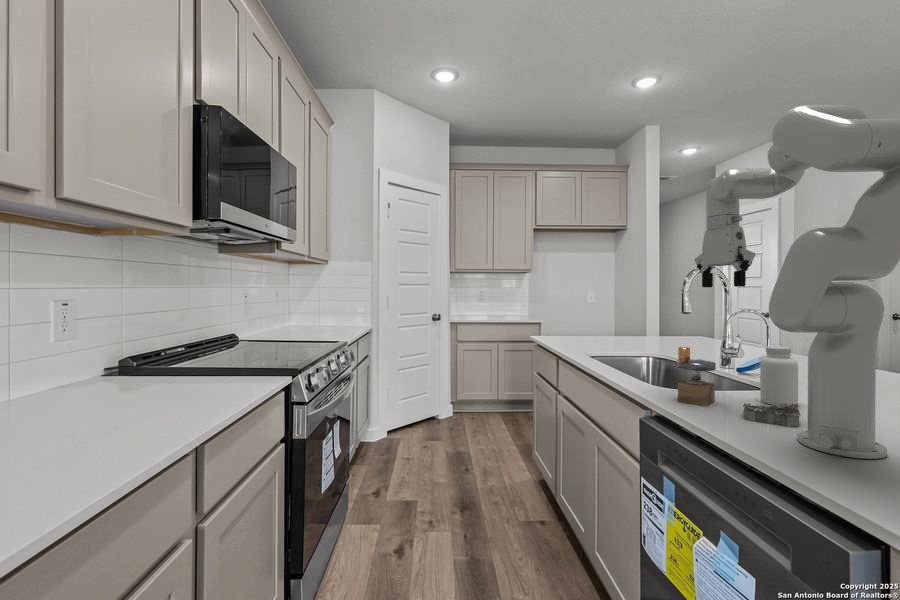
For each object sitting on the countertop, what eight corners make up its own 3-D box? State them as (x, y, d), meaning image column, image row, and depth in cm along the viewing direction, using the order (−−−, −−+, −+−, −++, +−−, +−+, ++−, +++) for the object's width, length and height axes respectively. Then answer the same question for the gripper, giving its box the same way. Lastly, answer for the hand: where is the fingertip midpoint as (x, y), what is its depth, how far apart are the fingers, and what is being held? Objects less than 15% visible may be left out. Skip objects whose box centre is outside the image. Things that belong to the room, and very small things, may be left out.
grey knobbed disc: (700, 375, 120) (700, 344, 120) (723, 382, 111) (723, 349, 111) (667, 376, 119) (667, 345, 119) (689, 383, 110) (689, 350, 110)
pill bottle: (753, 401, 114) (753, 346, 114) (770, 398, 118) (771, 344, 117) (787, 408, 107) (787, 349, 107) (804, 404, 110) (804, 347, 110)
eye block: (706, 406, 110) (706, 385, 110) (677, 401, 115) (677, 381, 115) (714, 401, 115) (714, 381, 115) (686, 396, 120) (686, 377, 120)
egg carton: (800, 421, 97) (800, 404, 97) (799, 430, 92) (800, 411, 92) (744, 413, 104) (744, 396, 104) (740, 420, 99) (740, 403, 99)
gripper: (764, 218, 107) (765, 286, 107) (706, 229, 124) (706, 287, 124) (742, 217, 105) (742, 286, 105) (685, 228, 122) (685, 287, 122)
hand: (722, 286), depth 114 cm, fingers open, 9 cm apart
